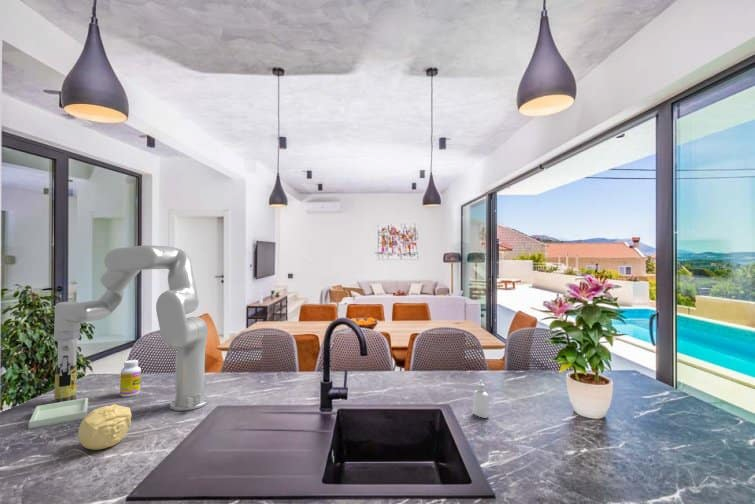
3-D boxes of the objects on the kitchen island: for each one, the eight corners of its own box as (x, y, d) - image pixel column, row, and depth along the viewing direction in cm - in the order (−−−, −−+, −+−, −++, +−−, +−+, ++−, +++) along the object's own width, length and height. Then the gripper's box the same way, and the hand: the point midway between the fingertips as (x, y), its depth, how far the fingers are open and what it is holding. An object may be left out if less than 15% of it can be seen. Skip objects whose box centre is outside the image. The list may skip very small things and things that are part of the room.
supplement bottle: (132, 397, 143) (133, 363, 144) (115, 397, 143) (116, 363, 144) (144, 391, 150) (144, 359, 150) (127, 391, 150) (128, 359, 150)
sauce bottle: (74, 402, 138) (76, 347, 139) (52, 405, 135) (54, 350, 135) (76, 397, 143) (78, 344, 144) (55, 400, 140) (57, 346, 141)
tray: (86, 418, 124) (86, 411, 124) (28, 429, 115) (28, 422, 116) (88, 403, 137) (88, 397, 137) (36, 412, 128) (36, 406, 128)
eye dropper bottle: (484, 412, 130) (484, 377, 131) (490, 419, 125) (490, 382, 125) (472, 412, 130) (472, 377, 130) (477, 419, 124) (477, 382, 125)
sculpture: (89, 459, 98) (90, 417, 99) (70, 447, 105) (71, 408, 105) (136, 441, 108) (137, 403, 108) (116, 431, 114) (117, 395, 115)
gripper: (78, 337, 135) (77, 387, 134) (81, 330, 149) (80, 375, 148) (51, 340, 131) (49, 391, 130) (56, 332, 145) (55, 379, 144)
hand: (65, 382), depth 139 cm, fingers open, 6 cm apart
